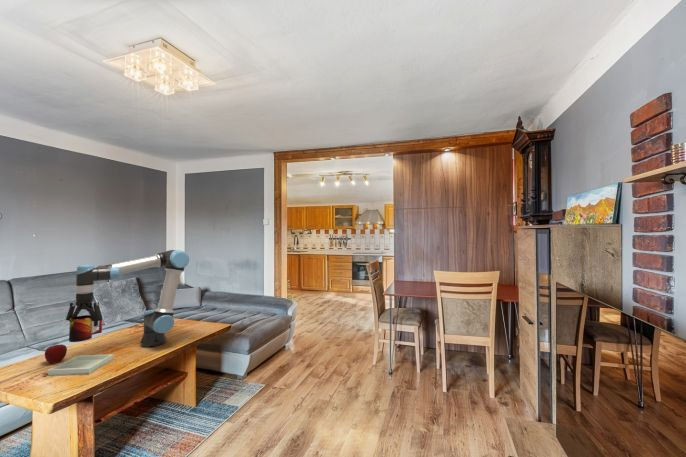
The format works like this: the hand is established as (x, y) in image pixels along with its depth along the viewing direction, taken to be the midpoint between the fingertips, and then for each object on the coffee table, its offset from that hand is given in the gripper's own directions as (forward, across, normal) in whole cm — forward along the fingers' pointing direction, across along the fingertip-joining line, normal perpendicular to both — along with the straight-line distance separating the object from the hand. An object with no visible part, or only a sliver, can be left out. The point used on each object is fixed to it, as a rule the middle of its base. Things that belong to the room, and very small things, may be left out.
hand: (83, 332), depth 172 cm
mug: (+3, 0, 0) cm, 3 cm away
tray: (+19, 0, 0) cm, 19 cm away
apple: (+19, +21, -9) cm, 30 cm away
